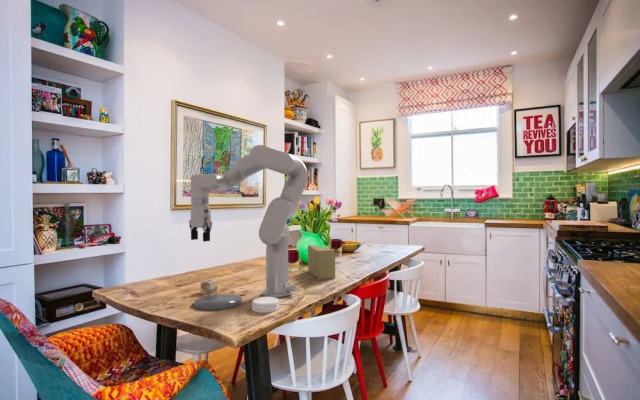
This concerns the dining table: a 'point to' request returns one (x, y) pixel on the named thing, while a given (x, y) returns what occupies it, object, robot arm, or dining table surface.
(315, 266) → the cheese
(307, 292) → the dining table surface
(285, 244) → the robot arm
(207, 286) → the wooden cube
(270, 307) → the coaster
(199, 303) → the cake plate
